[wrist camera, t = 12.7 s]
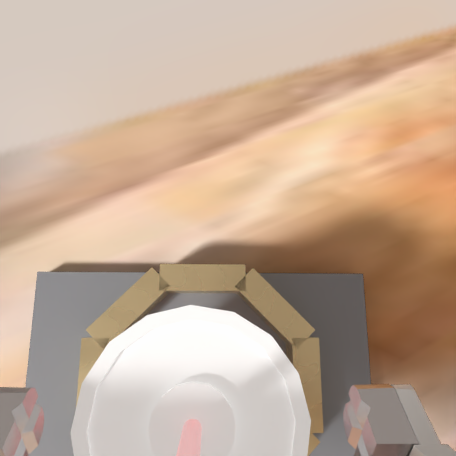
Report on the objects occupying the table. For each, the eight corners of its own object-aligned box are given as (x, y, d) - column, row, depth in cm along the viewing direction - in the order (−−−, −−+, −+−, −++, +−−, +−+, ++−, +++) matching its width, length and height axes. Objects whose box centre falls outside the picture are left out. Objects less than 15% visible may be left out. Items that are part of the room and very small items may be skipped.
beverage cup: (238, 473, 19) (323, 889, 5) (111, 422, 19) (-146, 686, 5) (282, 339, 20) (443, 375, 6) (163, 294, 20) (70, 233, 6)
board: (23, 494, 19) (13, 504, 18) (45, 274, 21) (37, 271, 20) (370, 488, 20) (379, 497, 19) (355, 276, 22) (363, 273, 21)
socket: (79, 507, 18) (67, 525, 16) (96, 268, 20) (87, 263, 19) (317, 503, 18) (327, 520, 17) (307, 269, 21) (315, 265, 19)
